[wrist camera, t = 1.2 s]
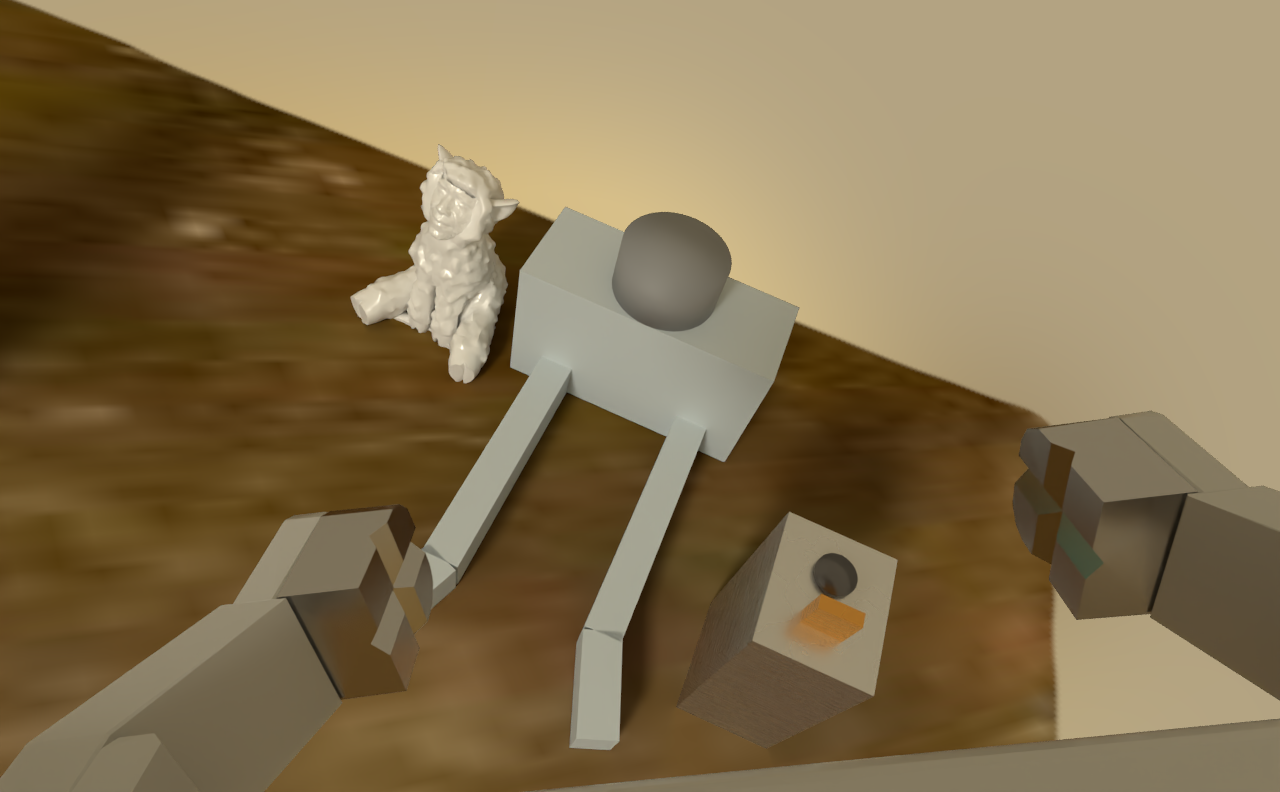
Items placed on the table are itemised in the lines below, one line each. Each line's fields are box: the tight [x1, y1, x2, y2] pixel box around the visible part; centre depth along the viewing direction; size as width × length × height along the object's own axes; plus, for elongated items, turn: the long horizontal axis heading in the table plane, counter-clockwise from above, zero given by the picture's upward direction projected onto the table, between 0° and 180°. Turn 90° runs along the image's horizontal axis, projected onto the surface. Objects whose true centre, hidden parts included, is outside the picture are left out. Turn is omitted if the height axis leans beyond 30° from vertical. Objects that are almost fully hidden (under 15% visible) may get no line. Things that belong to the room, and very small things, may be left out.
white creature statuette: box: [351, 145, 519, 383], centre depth 44 cm, size 10×9×12 cm
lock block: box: [676, 512, 897, 748], centre depth 34 cm, size 5×6×14 cm
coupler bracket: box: [421, 207, 799, 750], centre depth 38 cm, size 15×25×12 cm, turn 159°
